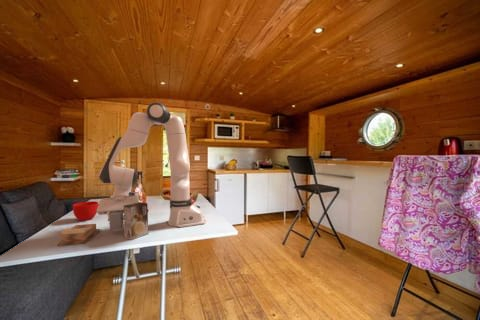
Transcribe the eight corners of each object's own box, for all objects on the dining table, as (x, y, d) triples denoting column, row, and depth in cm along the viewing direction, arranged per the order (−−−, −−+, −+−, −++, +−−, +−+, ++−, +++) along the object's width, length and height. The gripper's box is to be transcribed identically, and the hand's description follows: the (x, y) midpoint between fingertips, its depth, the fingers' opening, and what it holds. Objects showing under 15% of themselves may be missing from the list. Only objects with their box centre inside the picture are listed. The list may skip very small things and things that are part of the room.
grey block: (123, 226, 112) (123, 211, 111) (120, 229, 107) (120, 214, 106) (113, 227, 110) (112, 212, 110) (109, 230, 105) (109, 215, 105)
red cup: (108, 217, 136) (108, 202, 135) (76, 224, 123) (75, 207, 122) (101, 213, 144) (101, 199, 144) (70, 219, 131) (70, 204, 131)
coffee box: (141, 231, 111) (140, 201, 111) (148, 234, 108) (148, 203, 107) (123, 237, 103) (123, 205, 103) (131, 240, 100) (130, 207, 99)
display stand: (99, 231, 112) (99, 219, 112) (85, 243, 96) (85, 229, 96) (75, 233, 109) (75, 220, 109) (57, 246, 94) (57, 231, 93)
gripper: (98, 195, 112) (91, 218, 103) (140, 192, 118) (136, 215, 108) (102, 201, 117) (95, 224, 108) (141, 199, 122) (138, 220, 113)
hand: (116, 219), depth 108 cm, fingers closed on grey block, 5 cm apart
